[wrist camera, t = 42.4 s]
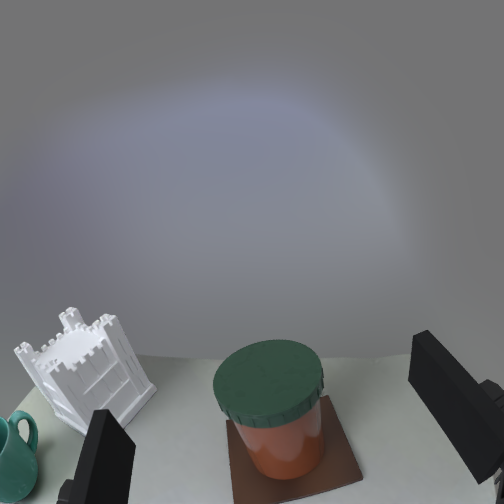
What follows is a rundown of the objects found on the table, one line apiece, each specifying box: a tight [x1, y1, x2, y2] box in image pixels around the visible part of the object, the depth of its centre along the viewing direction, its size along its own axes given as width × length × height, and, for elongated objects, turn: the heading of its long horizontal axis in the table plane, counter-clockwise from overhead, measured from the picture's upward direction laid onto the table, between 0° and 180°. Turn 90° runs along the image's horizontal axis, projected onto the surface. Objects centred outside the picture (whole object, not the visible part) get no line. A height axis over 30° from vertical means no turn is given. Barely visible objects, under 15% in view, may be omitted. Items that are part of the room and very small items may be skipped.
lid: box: [213, 340, 324, 428], centre depth 28 cm, size 10×10×2 cm
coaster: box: [226, 395, 363, 504], centre depth 32 cm, size 14×14×1 cm
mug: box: [0, 411, 38, 503], centre depth 27 cm, size 17×13×10 cm
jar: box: [234, 399, 325, 480], centre depth 30 cm, size 9×9×13 cm
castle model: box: [14, 307, 157, 437], centre depth 42 cm, size 14×14×15 cm
